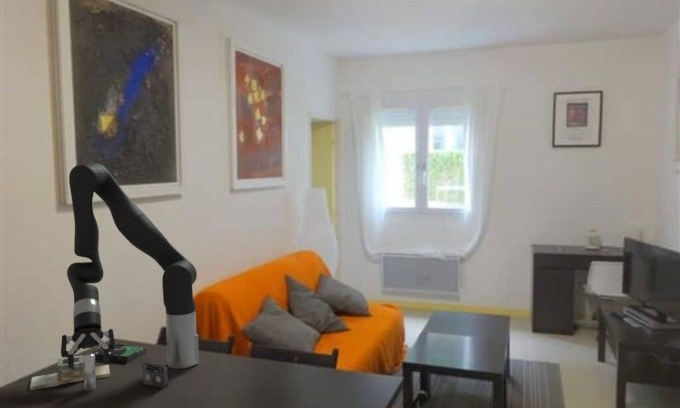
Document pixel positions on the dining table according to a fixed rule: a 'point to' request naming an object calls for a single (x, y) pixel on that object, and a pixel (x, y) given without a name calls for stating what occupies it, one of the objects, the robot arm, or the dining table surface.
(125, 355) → the disk drive
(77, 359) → the hinge leaves
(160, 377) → the mini dv tape
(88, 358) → the hinge pin
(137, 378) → the dining table surface
